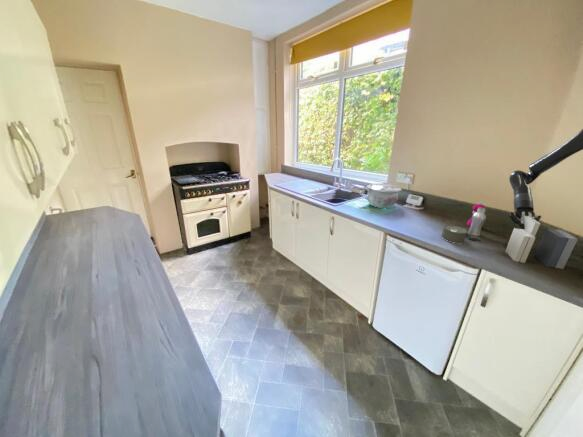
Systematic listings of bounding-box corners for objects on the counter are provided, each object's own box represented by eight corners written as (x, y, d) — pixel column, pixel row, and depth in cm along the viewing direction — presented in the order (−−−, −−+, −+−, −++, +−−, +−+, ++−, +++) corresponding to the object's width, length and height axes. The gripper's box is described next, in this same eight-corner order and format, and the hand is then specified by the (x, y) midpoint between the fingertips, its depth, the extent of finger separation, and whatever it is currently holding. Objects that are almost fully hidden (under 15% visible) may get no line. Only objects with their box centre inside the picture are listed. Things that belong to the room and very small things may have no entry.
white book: (519, 239, 130) (529, 216, 125) (529, 248, 120) (540, 223, 115) (514, 239, 130) (524, 215, 125) (524, 247, 121) (535, 222, 116)
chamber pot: (402, 206, 203) (407, 182, 195) (390, 214, 184) (394, 188, 176) (372, 199, 221) (375, 177, 213) (357, 206, 202) (360, 182, 194)
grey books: (549, 258, 122) (562, 230, 117) (563, 269, 113) (578, 239, 107) (534, 255, 124) (546, 228, 119) (546, 266, 115) (559, 236, 109)
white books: (514, 253, 127) (524, 229, 122) (524, 262, 118) (535, 237, 113) (505, 251, 129) (513, 228, 124) (514, 261, 119) (524, 236, 114)
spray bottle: (474, 233, 150) (483, 204, 143) (462, 229, 156) (471, 201, 149) (480, 232, 153) (490, 202, 146) (469, 228, 159) (478, 199, 152)
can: (466, 239, 142) (469, 229, 140) (461, 245, 134) (464, 234, 132) (443, 233, 150) (446, 223, 148) (438, 238, 142) (440, 228, 140)
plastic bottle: (464, 239, 142) (474, 208, 135) (466, 236, 147) (475, 205, 139) (477, 243, 138) (488, 211, 131) (479, 239, 142) (489, 208, 135)
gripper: (511, 198, 129) (513, 226, 123) (544, 201, 124) (548, 230, 118) (504, 204, 135) (505, 231, 129) (534, 207, 131) (538, 236, 124)
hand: (526, 231), depth 124 cm, fingers closed on white book, 2 cm apart
